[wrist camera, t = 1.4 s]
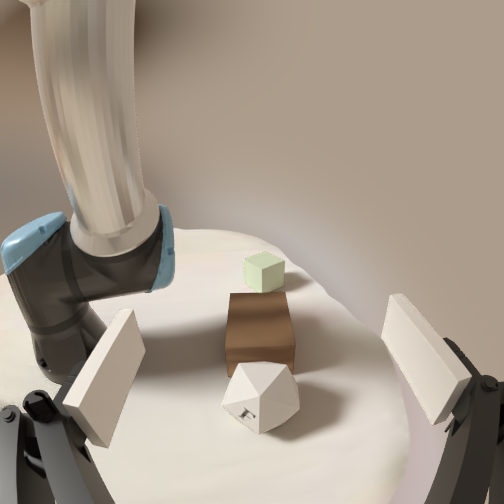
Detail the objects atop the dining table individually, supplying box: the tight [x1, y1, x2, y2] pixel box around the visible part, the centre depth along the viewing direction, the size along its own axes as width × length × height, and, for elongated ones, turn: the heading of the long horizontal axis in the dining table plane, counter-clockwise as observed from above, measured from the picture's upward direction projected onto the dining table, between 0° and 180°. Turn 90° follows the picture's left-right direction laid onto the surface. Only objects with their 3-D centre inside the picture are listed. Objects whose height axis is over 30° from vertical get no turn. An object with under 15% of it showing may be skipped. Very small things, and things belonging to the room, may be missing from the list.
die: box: [221, 361, 300, 434], centre depth 30 cm, size 8×9×10 cm
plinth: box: [225, 292, 295, 377], centre depth 42 cm, size 13×9×6 cm
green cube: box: [243, 251, 285, 293], centre depth 60 cm, size 6×6×6 cm
